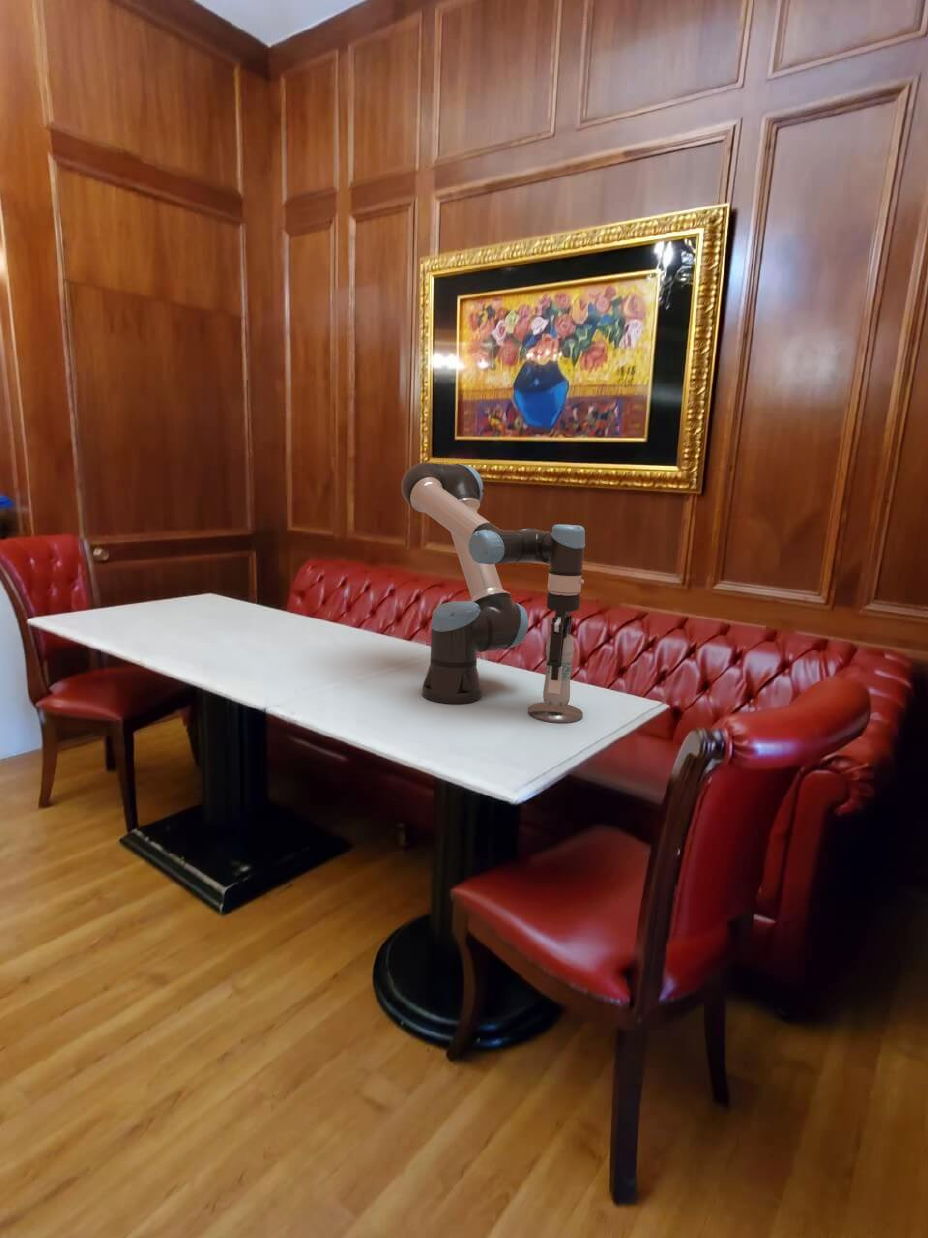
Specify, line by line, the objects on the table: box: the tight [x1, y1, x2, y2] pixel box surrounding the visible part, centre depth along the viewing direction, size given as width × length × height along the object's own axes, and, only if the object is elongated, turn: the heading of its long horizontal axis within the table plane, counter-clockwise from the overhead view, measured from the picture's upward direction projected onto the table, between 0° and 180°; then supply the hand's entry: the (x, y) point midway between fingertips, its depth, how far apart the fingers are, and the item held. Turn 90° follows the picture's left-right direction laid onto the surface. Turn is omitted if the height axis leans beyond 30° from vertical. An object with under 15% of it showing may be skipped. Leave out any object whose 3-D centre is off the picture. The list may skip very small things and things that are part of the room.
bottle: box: [542, 627, 575, 707], centre depth 164 cm, size 7×7×20 cm
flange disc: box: [527, 701, 584, 724], centre depth 167 cm, size 13×13×1 cm
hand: (556, 688), depth 166 cm, fingers closed on bottle, 6 cm apart
